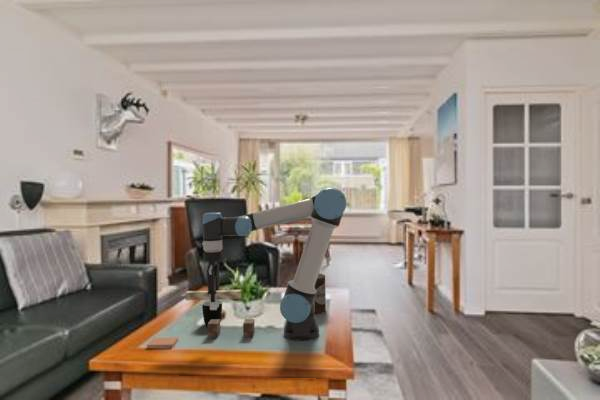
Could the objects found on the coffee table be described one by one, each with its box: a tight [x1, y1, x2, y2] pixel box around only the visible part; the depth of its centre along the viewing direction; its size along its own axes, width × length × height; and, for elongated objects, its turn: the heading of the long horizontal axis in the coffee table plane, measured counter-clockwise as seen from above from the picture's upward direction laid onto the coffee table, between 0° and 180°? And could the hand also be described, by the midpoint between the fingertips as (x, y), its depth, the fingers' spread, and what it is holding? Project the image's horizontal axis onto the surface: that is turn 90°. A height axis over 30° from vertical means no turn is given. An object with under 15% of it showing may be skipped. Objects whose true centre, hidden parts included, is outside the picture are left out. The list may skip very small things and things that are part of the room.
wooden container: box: [314, 273, 327, 316], centre depth 208 cm, size 15×15×22 cm
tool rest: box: [207, 318, 256, 339], centre depth 173 cm, size 19×6×6 cm, turn 90°
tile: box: [146, 336, 179, 349], centre depth 163 cm, size 2×8×10 cm
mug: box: [201, 300, 223, 327], centre depth 189 cm, size 12×9×10 cm
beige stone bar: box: [179, 289, 243, 301], centre depth 164 cm, size 24×5×3 cm, turn 91°
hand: (214, 308), depth 164 cm, fingers closed on beige stone bar, 3 cm apart
